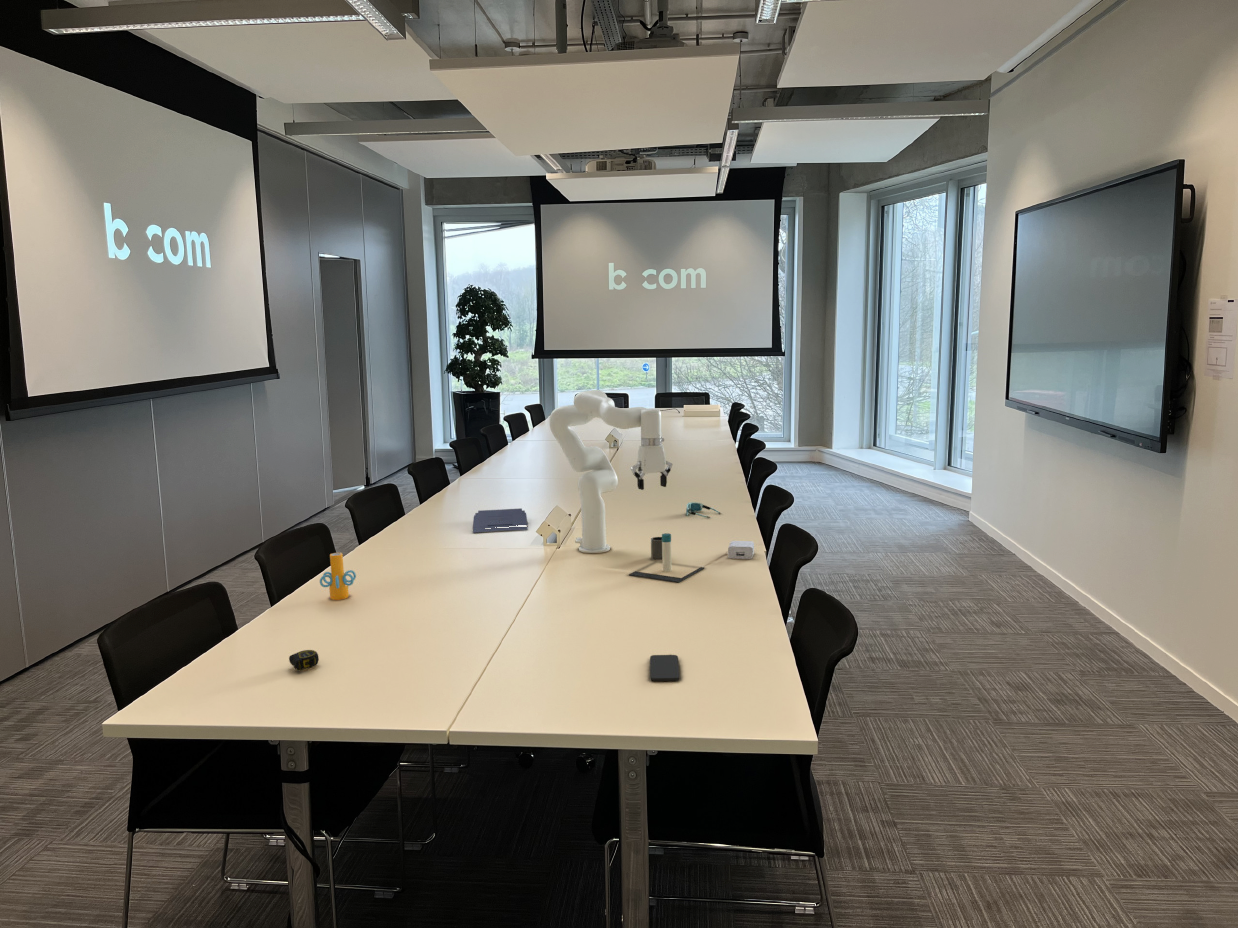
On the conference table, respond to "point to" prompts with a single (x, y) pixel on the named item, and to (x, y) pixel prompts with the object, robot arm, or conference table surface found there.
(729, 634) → the conference table surface
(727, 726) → the conference table surface
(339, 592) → the cylinder
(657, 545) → the pen cup
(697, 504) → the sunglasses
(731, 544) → the charger
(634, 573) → the mat
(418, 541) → the conference table surface
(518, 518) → the dark grey flat slab
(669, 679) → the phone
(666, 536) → the marker
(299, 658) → the tape measure
